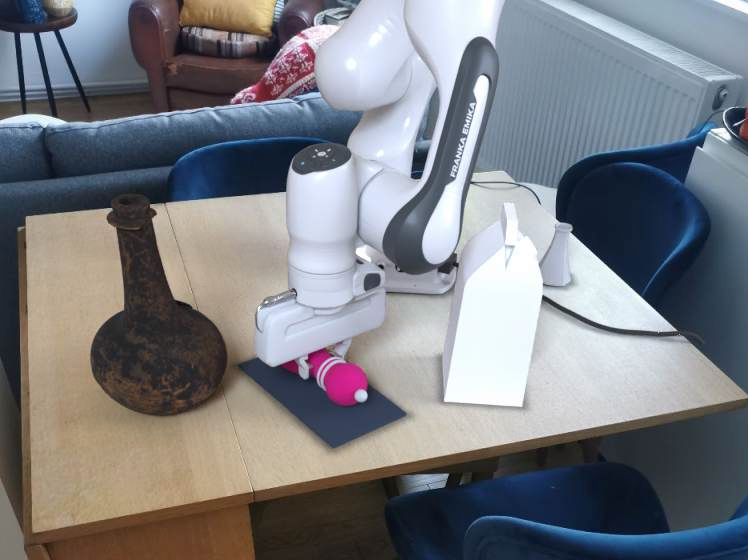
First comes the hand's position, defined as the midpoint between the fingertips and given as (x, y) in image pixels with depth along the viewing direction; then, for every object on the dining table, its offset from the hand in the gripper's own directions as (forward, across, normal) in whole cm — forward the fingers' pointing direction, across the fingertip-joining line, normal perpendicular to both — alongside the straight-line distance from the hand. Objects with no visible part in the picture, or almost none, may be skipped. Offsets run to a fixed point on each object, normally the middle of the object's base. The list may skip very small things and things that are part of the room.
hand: (322, 370), depth 109 cm
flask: (+4, +57, +5) cm, 57 cm away
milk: (+4, +21, -12) cm, 25 cm away
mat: (+4, 0, 0) cm, 4 cm away
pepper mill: (-1, 0, +10) cm, 10 cm away
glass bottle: (+4, -19, +12) cm, 22 cm away
